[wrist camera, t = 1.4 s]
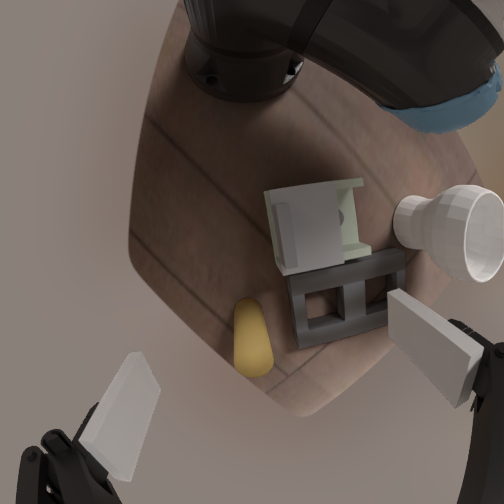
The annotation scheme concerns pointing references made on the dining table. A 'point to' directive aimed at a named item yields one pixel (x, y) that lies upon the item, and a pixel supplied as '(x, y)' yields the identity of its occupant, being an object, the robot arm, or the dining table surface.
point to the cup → (455, 230)
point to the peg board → (345, 296)
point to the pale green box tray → (347, 221)
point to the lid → (307, 227)
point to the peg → (251, 340)
